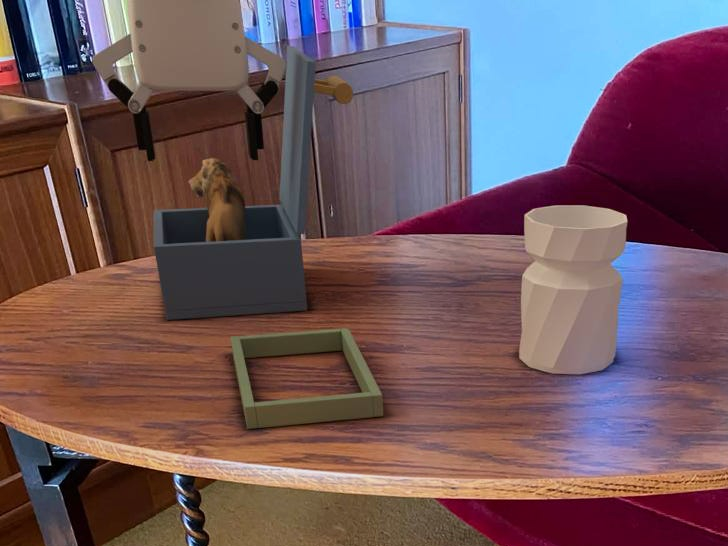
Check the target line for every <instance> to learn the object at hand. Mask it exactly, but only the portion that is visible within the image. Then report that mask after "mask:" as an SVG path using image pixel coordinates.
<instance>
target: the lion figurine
mask: <svg viewBox="0 0 728 546" xmlns="http://www.w3.org/2000/svg"><path fill="white" fill-rule="evenodd" d="M201 164H202V166H201V169H200V170H199V171H198V172H197V174H196V175H195V176H193V177H191V178H190V179H189V180H188V184H189V185H190V189H191V190H192V191H193V192H194V193H195V194H196V197H197V198H200V199H201V198H203V200H204V202H205V205H206V208H207V209H208V213H209V219H208V221H207V233H206V242H214V241H233V240H245V222H244V210H245V206H246V202H245V197H244V192H243V190H242V188H240V185H239V182H238V179H237V177H236V176H235V174H233V173H232V169H231V168H230V167H229V166H228V165H227V164H226V163H225V162H223V161H221V160H220V159H219V158H214V157H211V158H206V159H203V160H202V162H201Z"/></svg>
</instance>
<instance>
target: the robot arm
mask: <svg viewBox="0 0 728 546" xmlns="http://www.w3.org/2000/svg"><path fill="white" fill-rule="evenodd" d="M126 6H127V7H126V8H127V15H128V17H127V18H128V26H129V27H128V28H129V33H128V34H127V35H125V36H123V37H122V38H120V39H118V40H117V41H116V42H114V43H112V44H110V45H109V46H107V47H105V48H104V49H102V50H101V51H99V52H98V53H96V54H94V55H93V57H92V59H91V63H92V65H93V67H94V68H95V70H96V71H97V73H98V75H99V76H100V78H101V79H102V81H103V82H104V84H105V85H106V87H107V88H108V91H109V92H110V93H111V94H112V95H114V97H116V98H117V100H119V101H120V102H121V103H122V104H123V105H124V106H125V107H126V108H127V109H128V110H129V111H130V112H131V113H132V118H133V124H134V131H135V137H136V143H137V144H136V145H137V149H138V151H145V152H146V161H147V162H154V161H155V160H156V151H155V144H154V138H153V130H152V124H151V117H150V112H149V111H147V105H146V103H147V102H148V100H149V99H150V98H151V96H152V94H153V92H154V91H155V90H156V91H181V92H182V91H184V92H185V91H186V92H187V91H188V92H189V91H190V92H191V91H194V92H231V91H232V92H233V91H235V92H236V93H237V94H238V95H239V97H240V98H241V99H242V101H244V103H246V104H245V105H246V106H245V107H246V110H245V111H244V122H245V123H244V125H245V132H246V144H247V153H248V156H249V159H250V160H252V161H259V152H258V150H264V149H265V143H264V132H263V131H264V130H263V120H262V113H263V112H264V110H265V109H266V107H267V106H268V105H269V104H270V103H271V101H272V100H273V99H274V98H275V96H276V95H277V94H278V92H279V88H280V85H281V84H282V81H283V78H284V75H285V74H286V67H287V60H286V59H284V58H283V57H281V56H280V55H278V54H276V53H274V52H273V51H271V50H270V49H268V48H266V47H265V46H263V45H261V44H260V43H257V42H255V41H254V40H253V39H251V38H249V37H248V36H246V33H245V27H244V19H243V13H242V8H241V2H240V0H126ZM131 53H132V58H133V64H134V69H135V73H136V76H137V79H138V81H139V82H138V83H137V85H136V87H135V88H134V90H133V91H132V90H131V89H130V88H129V87H128V86H127V85H126V84H125V83H123V81H122V80H121V79H120V78H119V76H118V75H117V73H116V71H115V70H114V67H113V66H114V64H115V63H117V62H118V61H121V60H122V59H124V58H125V57H127V56H129V55H130V54H131ZM248 56H250V57H252V58H253V59H255V60H257V61H259V62H260V63H262V64H264V65H265V66H267V68H268V72H267V75H266V79H265V81H264V82H263V83H262V84H261V86H260V87H259V88H258V89H257V91H256V92H255V91H254V90H253V89H252V88H251V87H250V85H249V84H248V83H249V78H250V77H249V57H248Z"/></svg>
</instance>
